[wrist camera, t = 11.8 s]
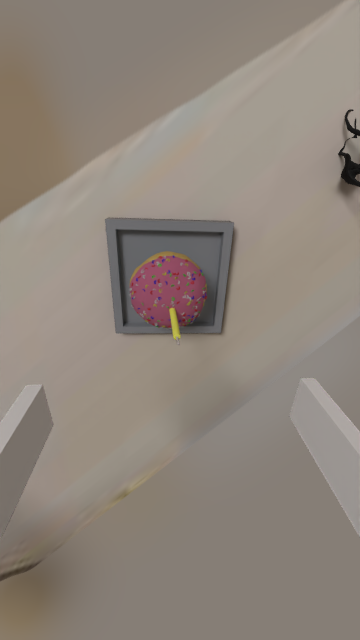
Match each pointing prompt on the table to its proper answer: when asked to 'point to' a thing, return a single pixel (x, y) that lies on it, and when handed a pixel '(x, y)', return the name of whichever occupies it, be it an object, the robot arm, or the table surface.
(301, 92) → the table surface
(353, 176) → the creature
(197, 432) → the table surface
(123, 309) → the tray
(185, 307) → the cupcake
